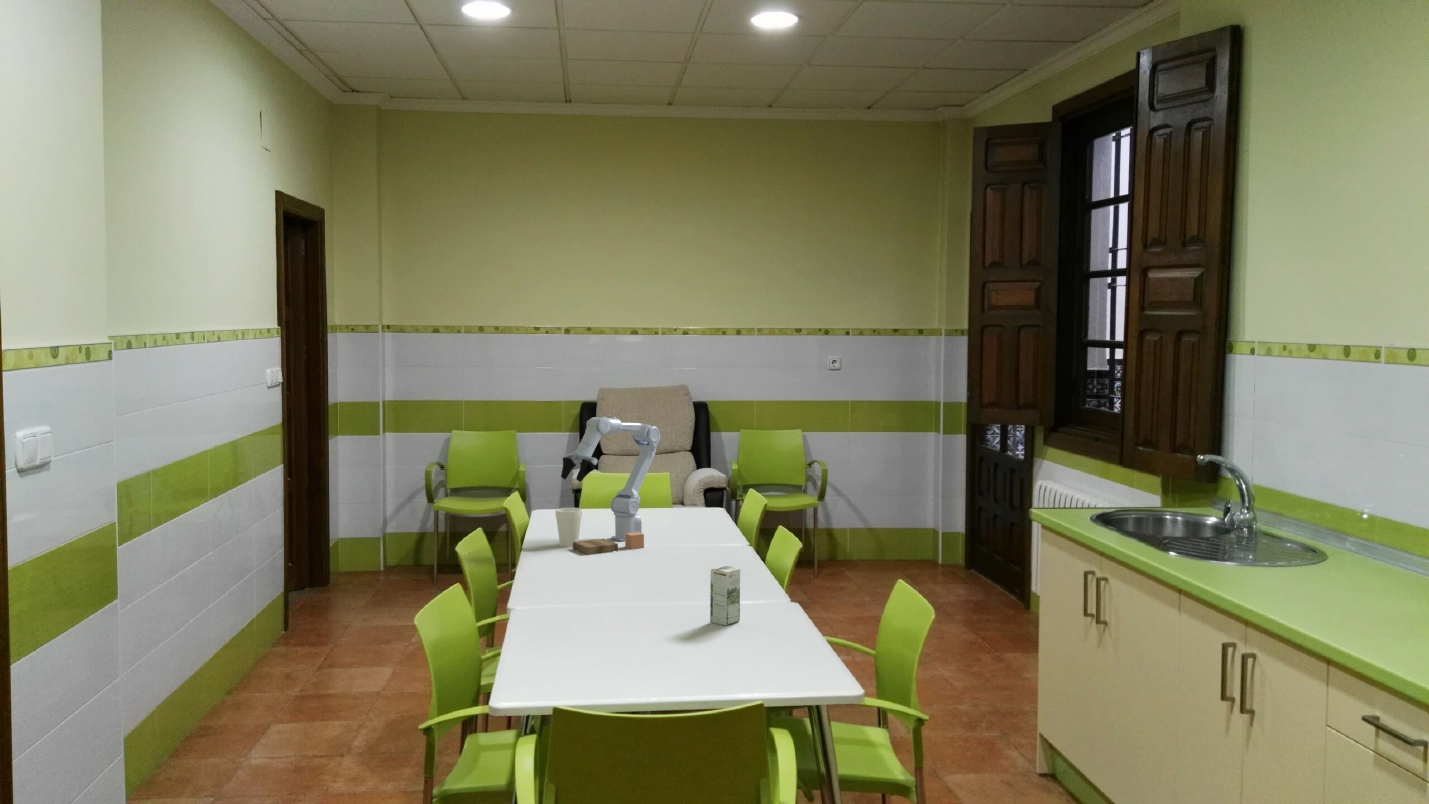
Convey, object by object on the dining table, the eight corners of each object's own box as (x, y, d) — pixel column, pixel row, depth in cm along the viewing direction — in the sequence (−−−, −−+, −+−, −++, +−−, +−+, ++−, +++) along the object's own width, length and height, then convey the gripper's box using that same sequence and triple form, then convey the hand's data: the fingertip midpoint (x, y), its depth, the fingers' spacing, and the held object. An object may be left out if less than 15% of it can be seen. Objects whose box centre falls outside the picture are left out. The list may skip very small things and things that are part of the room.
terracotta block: (637, 545, 383) (637, 531, 383) (643, 547, 379) (643, 534, 378) (625, 547, 380) (625, 533, 380) (631, 549, 376) (631, 535, 376)
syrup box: (723, 617, 284) (723, 564, 283) (740, 621, 280) (740, 567, 279) (709, 622, 280) (709, 568, 279) (727, 626, 276) (727, 571, 275)
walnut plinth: (603, 546, 383) (603, 538, 383) (618, 552, 373) (617, 543, 373) (573, 550, 377) (572, 542, 377) (586, 556, 367) (586, 547, 367)
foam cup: (579, 547, 379) (579, 511, 378) (554, 547, 379) (553, 511, 378) (583, 542, 388) (583, 507, 388) (558, 542, 389) (558, 507, 388)
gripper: (566, 438, 381) (549, 471, 375) (595, 442, 372) (579, 475, 366) (577, 449, 385) (561, 481, 380) (606, 453, 377) (590, 485, 371)
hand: (570, 479), depth 373 cm, fingers open, 7 cm apart
